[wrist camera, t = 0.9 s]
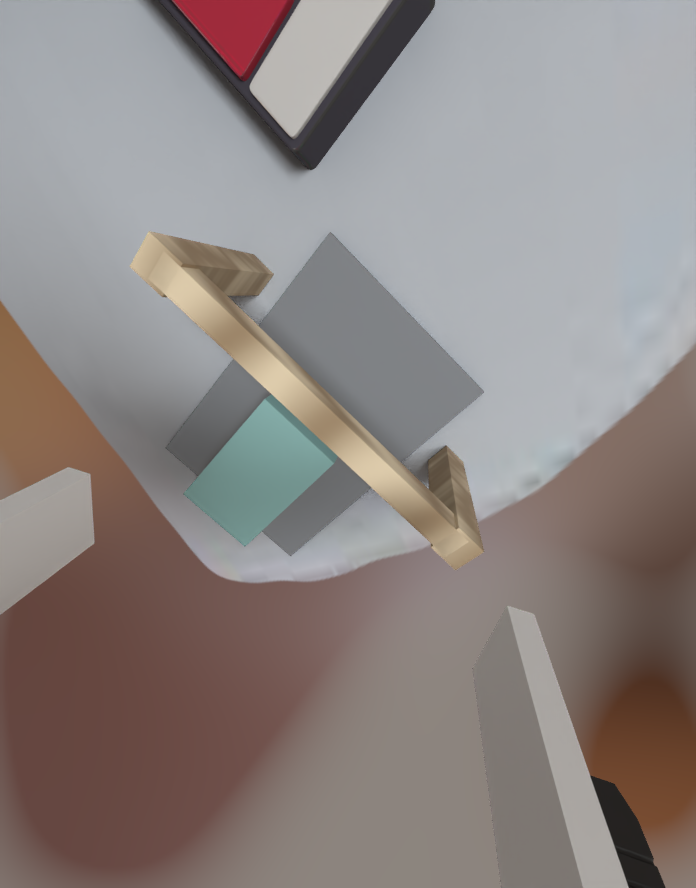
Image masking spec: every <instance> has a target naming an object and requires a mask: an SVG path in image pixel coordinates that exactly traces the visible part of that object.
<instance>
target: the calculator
mask: <svg viewBox="0 0 696 888" xmlns="http://www.w3.org/2000/svg"><path fill="white" fill-rule="evenodd" d="M159 1H160V2H161V3H162V5H163V6H164V7H165V8H166V9H167V10H168V11H169V13H170V14H171V15H172V16H173V17H174V18H175V19H176V21H177V22H178V23H179V24H180V25H181V26H182V27H183V29H184V30H185V31H186V32H187V33H188V34H189V35H190V36H191V38H192V39H193V40H194V41H195V42H196V43H197V44H198V46H199V47H200V48H201V49H202V50H203V51H204V52H205V54H206V55H207V56H208V57H209V58H210V59H211V60H212V61H213V63H214V64H215V65H216V66H217V67H218V68H219V69H220V71H221V72H222V73H223V74H224V75H225V76H226V77H227V79H228V80H229V81H230V82H231V83H232V84H233V85H234V87H235V88H236V89H237V90H238V91H239V92H240V93H241V94H242V96H243V97H244V98H245V99H246V100H247V101H248V102H249V104H250V105H251V106H252V107H253V108H254V109H255V110H256V112H257V113H258V114H259V115H260V116H261V117H262V118H263V119H264V121H265V122H266V123H267V124H268V125H269V126H270V127H271V129H272V130H273V131H274V132H275V133H276V134H277V135H278V137H279V138H280V139H281V140H282V141H283V142H284V143H285V145H286V146H287V147H288V148H289V149H290V150H291V151H292V152H293V153H294V154H295V156H296V157H297V158H298V159H299V160H300V161H301V162H302V163H303V164H304V165H305V166H306V167H307V168H308V169H310V170H312V169H315V168H316V167H317V165H318V164H319V163H320V161H321V160H322V159H323V157H324V156H325V155H326V153H327V152H328V150H329V149H330V148H331V146H332V145H333V144H334V142H335V141H336V140H337V138H338V137H339V136H340V134H341V133H342V132H343V130H344V129H345V128H346V126H347V125H348V123H349V122H350V121H351V119H352V118H353V117H354V115H355V114H356V113H357V111H358V110H359V109H360V107H361V106H362V105H363V103H364V102H365V101H366V99H367V98H368V96H369V95H370V94H371V92H372V91H373V90H374V88H375V87H376V86H377V84H378V83H379V82H380V80H381V79H382V78H383V76H384V75H385V74H386V72H387V71H388V69H389V68H390V67H391V65H392V64H393V63H394V61H395V60H396V59H397V57H398V56H399V55H400V53H401V52H402V51H403V49H404V48H405V47H406V45H407V44H408V42H409V41H410V40H411V38H412V37H413V36H414V34H415V33H416V32H417V30H418V29H419V28H420V26H421V25H422V24H423V22H424V21H425V20H426V18H427V17H428V15H429V14H430V13H431V11H432V10H433V8H434V5H435V0H159Z"/></svg>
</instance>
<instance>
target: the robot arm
mask: <svg viewBox="0 0 696 888" xmlns="http://www.w3.org/2000/svg"><path fill="white" fill-rule="evenodd" d="M92 510H93V509H92V493H91V478H90V474H89V473H86V472H82V471H79V470H76V469H73V468H70V467H68V468H66V469H63V470H61V471H59V472H57V473H55V474H53V475H51V476H49V477H47V478H45V479H43V480H41V481H39V482H37V483H35V484H33V485H31V486H29V487H27V488H24V489H23V490H20V491H18V492H16V493H14V494H12V495H10V496H8V497H6V498H4V499H2V500H0V614H2V613H3V612H4V611H6V610H7V609H8V608H10V607H11V606H12V605H14V604H15V603H16V602H17V601H19V600H20V599H21V598H23V597H24V596H25V595H27V594H28V593H29V592H31V591H32V590H33V589H35V588H36V587H37V586H39V585H40V584H41V583H43V582H44V581H45V580H47V579H48V578H49V577H50V576H52V575H53V574H54V573H56V572H57V571H58V570H60V569H61V568H62V567H63V566H65V565H66V564H68V563H69V562H70V561H71V560H73V559H74V558H75V557H77V556H78V555H79V554H81V553H82V552H83V551H85V550H86V549H87V548H89V547H90V546H91V545H93V544H94V526H93V511H92ZM472 669H473V676H474V684H475V692H476V699H477V707H478V714H479V722H480V730H481V737H482V745H483V752H484V760H485V768H486V775H487V783H488V791H489V798H490V806H491V813H492V821H493V828H494V836H495V844H496V852H497V859H498V867H499V874H500V882H501V888H665V885H664V883H663V880H662V878H661V875H660V873H659V871H658V868H657V867H656V866H655V865H654V863H653V859H654V858H653V856H652V853H651V851H650V848H649V846H648V844H647V841H646V839H645V836H644V834H643V831H642V829H641V826H640V824H639V822H638V819H637V818H636V816H635V815H634V813H633V812H632V810H631V809H630V807H629V806H628V804H627V802H626V801H625V799H624V798H623V796H622V795H621V793H620V792H619V790H618V789H617V787H616V786H615V784H613V783H611V782H608V781H605V780H602V779H599V778H596V777H593V776H590V774H589V772H588V769H587V766H586V763H585V760H584V757H583V754H582V751H581V748H580V745H579V743H578V740H577V737H576V734H575V731H574V728H573V725H572V722H571V719H570V717H569V714H568V711H567V708H566V705H565V702H564V699H563V696H562V693H561V691H560V688H559V685H558V682H557V679H556V676H555V673H554V670H553V667H552V665H551V662H550V659H549V656H548V653H547V650H546V647H545V644H544V642H543V639H542V636H541V633H540V630H539V627H538V624H537V621H536V618H535V615H534V614H532V613H529V612H526V611H523V610H520V609H517V608H513V607H510V606H507V607H506V609H505V610H504V612H503V614H502V616H501V618H500V619H499V621H498V623H497V625H496V627H495V628H494V630H493V632H492V634H491V636H490V637H489V639H488V641H487V643H486V645H485V647H484V648H483V650H482V652H481V654H480V656H479V657H478V659H477V661H476V663H475V665H474V667H473V668H472Z"/></svg>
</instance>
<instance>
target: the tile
mask: <svg viewBox="0 0 696 888" xmlns="http://www.w3.org/2000/svg"><path fill="white" fill-rule="evenodd" d="M337 457H338V456H337V455H336V454H335V453H334V452H333V451H332V450H331V449H330V448H329V447H328V446H327V445H325V444H324V443H323V442H322V441H321V440H320V439H319V438H318V437H317V436H316V435H315V434H314V433H313V432H312V431H311V430H309V429H308V428H307V427H306V426H305V425H304V424H303V423H302V422H301V421H300V420H299V419H298V418H297V417H296V416H294V415H293V414H292V413H291V412H290V411H289V410H288V409H287V408H286V407H285V406H284V405H283V404H282V403H281V402H279V401H278V400H277V399H276V398H275V397H274V396H273V395H272V394H271V395H270V396H268V397H267V398H265V399H264V400H263V402H262V403H261V404H260V405H259V406H258V407H257V409H256V410H255V411H254V412H253V413H252V414H251V416H250V417H249V418H248V419H247V420H246V421H245V423H244V424H243V425H242V426H241V427H240V428H239V430H238V431H237V432H236V433H235V434H234V435H233V436H232V438H231V439H230V440H229V441H228V442H227V443H226V445H225V446H224V447H223V448H222V449H221V450H220V452H219V453H218V454H217V455H216V456H215V457H214V459H213V460H212V461H211V462H210V463H209V464H208V466H207V467H206V468H205V469H204V470H203V471H202V473H201V474H200V475H199V476H198V477H197V478H196V480H195V481H194V482H193V483H192V484H191V485H190V487H189V488H188V489H187V490H186V491H185V492H184V495H185V496H186V497H187V498H188V499H190V500H191V501H192V502H193V503H194V504H195V505H197V506H198V507H199V508H200V509H201V510H202V511H204V512H205V513H206V514H207V515H208V516H210V517H211V518H212V519H213V520H214V521H215V522H217V523H218V524H219V525H220V526H221V527H222V528H224V529H225V530H226V531H227V532H228V533H229V534H231V535H232V536H233V537H234V538H235V539H237V540H238V541H239V542H240V543H241V544H242V545H244V546H246V545H247V544H248V543H250V542H251V541H252V540H253V539H254V538H255V537H256V536H257V535H258V534H259V533H260V532H261V531H262V530H263V529H264V528H266V527H267V526H268V525H269V524H270V523H271V522H272V521H273V520H274V519H275V518H276V517H277V516H278V515H279V514H281V513H282V512H283V511H284V510H285V509H286V508H287V507H288V506H289V505H290V504H291V503H292V502H293V501H294V500H295V499H297V498H298V497H299V496H300V495H301V494H302V493H303V492H304V491H305V490H306V489H307V488H308V487H309V486H310V485H312V484H313V483H314V482H315V481H316V480H317V479H318V478H319V477H320V476H321V475H322V474H323V473H324V472H325V471H326V470H328V469H329V468H330V467H331V466H332V465H333V464H334V463H335V461H336V459H337Z"/></svg>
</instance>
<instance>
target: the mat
mask: <svg viewBox="0 0 696 888" xmlns="http://www.w3.org/2000/svg"><path fill="white" fill-rule="evenodd" d="M259 327H260V328H261V329H262V330H263V331H264V332H265V333H266V334H267V335H268V336H269V337H270V338H271V339H272V340H274V341H275V342H276V343H277V344H278V345H279V346H280V347H281V348H282V349H283V350H284V351H285V352H286V353H287V354H288V355H289V356H290V357H291V358H292V359H293V360H294V361H295V362H296V363H297V364H299V365H300V366H301V367H302V368H303V369H304V370H305V371H306V372H307V373H308V374H309V375H310V376H311V377H312V378H313V379H314V380H315V381H316V382H317V383H318V384H319V385H320V386H321V387H322V388H324V389H325V390H326V391H327V392H328V393H329V394H330V395H331V396H332V397H333V398H334V399H335V400H336V401H337V402H338V403H339V404H340V405H341V406H342V407H343V408H344V409H345V410H346V411H347V412H348V413H350V414H351V415H352V416H353V417H354V418H355V419H356V420H357V421H358V422H359V423H360V424H361V425H362V426H363V427H364V428H365V429H366V430H367V431H368V432H369V433H370V434H371V435H372V436H373V437H375V438H376V439H377V440H378V441H379V442H380V443H381V444H382V445H383V446H384V447H385V448H386V449H387V450H388V451H389V452H390V453H391V454H392V455H393V456H394V457H395V458H396V459H397V460H398V461H400V462H402V461H403V460H405V459H406V458H407V457H408V456H409V455H411V454H412V453H413V452H414V451H415V450H416V449H418V448H419V447H420V446H421V445H422V444H424V443H425V442H426V441H427V440H428V439H429V438H431V437H432V436H433V435H434V434H435V433H437V432H438V431H439V430H440V429H441V428H442V427H444V426H445V425H446V424H447V423H448V422H450V421H451V420H452V419H453V418H454V417H455V416H457V415H458V414H459V413H460V412H461V411H463V410H464V409H465V408H466V407H467V406H468V405H470V404H471V403H472V402H473V401H474V400H476V399H477V398H478V397H479V396H480V395H481V394H483V393H484V391H483V390H482V389H481V388H480V387H479V386H478V385H477V384H476V383H475V382H474V381H473V380H472V379H471V378H470V377H469V375H468V374H467V373H466V372H465V371H464V370H463V369H462V368H461V367H460V366H459V365H458V364H457V363H456V362H455V361H454V360H453V359H452V358H451V357H450V356H449V355H448V354H447V353H446V352H445V351H444V349H443V348H442V347H441V346H440V345H439V344H438V343H437V342H436V341H435V340H434V339H433V338H432V337H431V336H430V335H429V334H428V333H427V332H426V331H425V330H424V329H423V328H422V327H421V326H420V325H419V324H418V322H417V321H416V320H415V319H414V318H413V317H412V316H411V315H410V314H409V313H408V312H407V311H406V310H405V309H404V308H403V307H402V306H401V305H400V304H399V303H398V302H397V301H396V300H395V299H394V298H393V296H392V295H391V294H390V293H389V292H388V291H387V290H386V289H385V288H384V287H383V286H382V285H381V284H380V283H379V282H378V281H377V280H376V279H375V278H374V277H373V276H372V275H371V274H370V273H369V272H368V270H367V269H366V268H365V267H364V266H363V265H362V264H361V263H360V262H359V261H358V260H357V259H356V258H355V257H354V256H353V255H352V254H351V253H350V252H349V251H348V250H347V249H346V248H345V247H344V246H343V244H342V243H341V242H340V241H339V240H338V239H337V238H336V237H335V236H334V235H333V234H332V233H331V232H330V233H329V234H328V236H327V237H326V238H325V240H324V241H323V242H322V244H321V245H320V246H319V247H318V249H317V250H316V251H315V253H314V254H313V255H312V257H311V258H310V259H309V261H308V262H307V263H306V265H305V266H304V267H303V268H302V270H301V271H300V272H299V274H298V275H297V276H296V278H295V279H294V280H293V282H292V283H291V284H290V286H289V287H288V288H287V289H286V291H285V292H284V293H283V295H282V296H281V297H280V299H279V300H278V301H277V303H276V304H275V305H274V306H273V308H272V309H271V310H270V312H269V313H268V314H267V316H266V317H265V318H264V320H263V321H262V322H261V324H260V325H259ZM270 395H271V393H270V392H269V391H268V390H267V389H266V388H264V387H263V386H262V385H261V384H260V383H259V382H258V381H257V380H256V379H255V378H254V377H253V376H252V375H251V374H249V373H248V372H247V371H246V370H245V369H244V368H243V367H242V366H241V365H240V364H239V363H238V362H237V361H236V360H235V359H233V360H232V362H231V363H230V364H229V365H228V367H227V368H226V369H225V371H224V372H223V373H222V375H221V376H220V377H219V379H218V380H217V381H216V383H215V384H214V385H213V386H212V388H211V389H210V390H209V392H208V393H207V394H206V396H205V397H204V398H203V400H202V401H201V402H200V403H199V405H198V406H197V407H196V409H195V410H194V411H193V413H192V414H191V415H190V417H189V418H188V419H187V421H186V422H185V423H184V424H183V426H182V427H181V428H180V430H179V431H178V432H177V434H176V435H175V436H174V438H173V439H172V440H171V441H170V443H169V444H168V445H167V447H166V449H167V450H168V451H170V452H171V453H172V454H173V455H174V456H175V457H176V458H178V459H179V460H180V461H181V462H182V463H183V464H185V465H186V466H187V467H188V468H189V469H190V470H192V471H193V472H194V473H195V474H196V475H197V476H199V475H200V474H201V473H202V471H203V470H204V469H205V468H206V467H207V466H208V464H209V463H210V462H211V461H212V460H213V459H214V457H215V456H216V455H217V454H218V453H219V452H220V450H221V449H222V448H223V447H224V446H225V445H226V443H227V442H228V441H229V440H230V439H231V438H232V436H233V435H234V434H235V433H236V432H237V431H238V430H239V428H240V427H241V426H242V425H243V424H244V423H245V421H246V420H247V419H248V418H249V417H250V416H251V414H252V413H253V412H254V411H255V410H256V409H257V407H258V406H259V405H260V404H261V403H262V402H263V400H264V399H265V398H267V397H268V396H270ZM370 488H372V487H370V486H369V485H368V484H367V483H366V482H365V481H364V480H363V479H362V478H361V477H360V476H359V475H358V474H357V473H355V472H354V471H353V470H352V469H351V468H350V467H349V466H348V465H347V464H346V463H345V462H344V461H343V460H342V459H340V458H339V457H337V459H336V461H335V463H334V464H333V465H332V466H331V467H330V468H329V469H328V470H326V471H325V472H324V473H323V474H322V475H321V476H320V477H319V478H318V479H317V480H316V481H315V482H314V483H313V484H312V485H310V486H309V487H308V488H307V489H306V490H305V491H304V492H303V493H302V494H301V495H300V496H299V497H298V498H297V499H295V500H294V501H293V502H292V503H291V504H290V505H289V506H288V507H287V508H286V509H285V510H284V511H283V512H282V513H281V514H279V515H278V516H277V517H276V518H275V519H274V520H273V521H272V522H271V523H270V524H269V525H268V526H267V527H266V528H264V529H263V530H262V532H263V533H264V534H265V535H267V536H268V537H269V538H270V539H271V540H272V541H274V542H275V543H276V544H277V545H278V546H279V547H280V548H282V549H283V550H284V551H285V552H286V553H287V554H289V555H290V556H291V555H292V554H294V553H295V552H296V551H297V550H298V549H300V548H301V547H302V546H303V545H304V544H305V543H307V542H308V541H309V540H310V539H311V538H313V537H314V536H315V535H316V534H317V533H318V532H320V531H321V530H322V529H323V528H324V527H326V526H327V525H328V524H329V523H330V522H331V521H333V520H334V519H335V518H336V517H337V516H339V515H340V514H341V513H342V512H343V511H344V510H346V509H347V508H348V507H349V506H350V505H352V504H353V503H354V502H355V501H356V500H357V499H359V498H360V497H361V496H362V495H363V494H365V493H366V492H367V491H368V490H369V489H370Z"/></svg>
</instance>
